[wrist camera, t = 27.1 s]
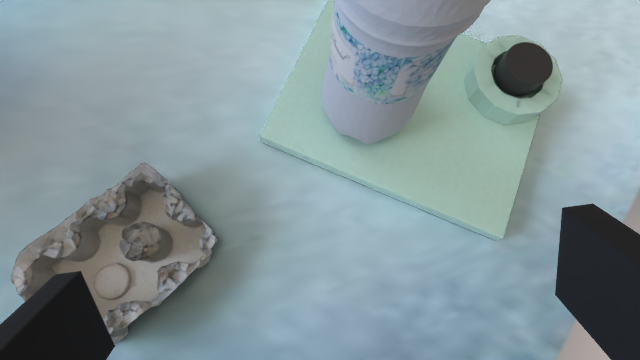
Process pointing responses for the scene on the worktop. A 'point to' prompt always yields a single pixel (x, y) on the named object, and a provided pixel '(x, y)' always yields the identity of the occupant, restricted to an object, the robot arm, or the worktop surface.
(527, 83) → the button
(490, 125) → the scale
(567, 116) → the worktop surface
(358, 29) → the bottle
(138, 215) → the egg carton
